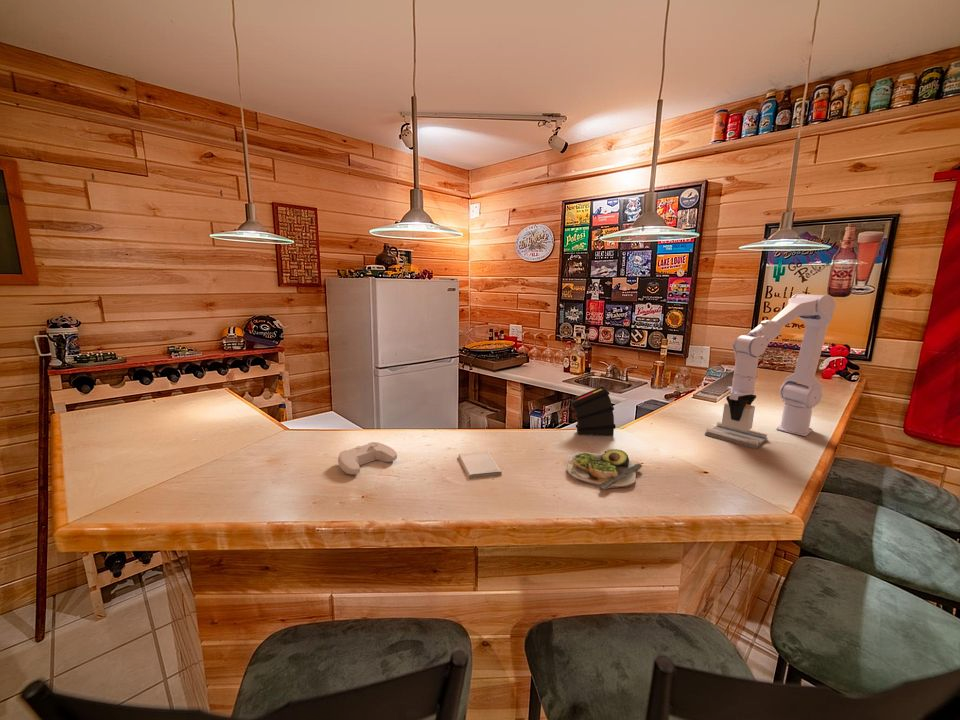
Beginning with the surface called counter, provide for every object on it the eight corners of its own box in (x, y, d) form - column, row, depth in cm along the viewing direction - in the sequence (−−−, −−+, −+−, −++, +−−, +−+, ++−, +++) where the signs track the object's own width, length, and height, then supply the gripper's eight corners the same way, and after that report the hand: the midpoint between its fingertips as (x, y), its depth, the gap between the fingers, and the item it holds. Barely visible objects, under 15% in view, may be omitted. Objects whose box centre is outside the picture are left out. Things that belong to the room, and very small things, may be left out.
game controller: (350, 469, 99) (330, 448, 105) (349, 484, 100) (329, 463, 106) (401, 451, 109) (380, 433, 115) (400, 466, 110) (379, 447, 116)
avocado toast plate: (639, 502, 92) (641, 483, 92) (558, 486, 99) (559, 468, 98) (641, 466, 110) (643, 450, 109) (573, 455, 117) (574, 439, 116)
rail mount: (718, 427, 140) (719, 421, 139) (767, 439, 129) (768, 433, 129) (704, 434, 133) (705, 428, 132) (755, 448, 122) (756, 442, 122)
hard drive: (501, 471, 103) (487, 450, 115) (469, 474, 101) (458, 453, 113) (501, 477, 103) (487, 456, 115) (469, 481, 101) (458, 459, 113)
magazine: (625, 431, 129) (607, 388, 127) (584, 448, 131) (566, 405, 128) (621, 427, 133) (604, 385, 130) (582, 443, 134) (564, 401, 132)
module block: (726, 422, 134) (730, 400, 133) (751, 428, 129) (755, 405, 128) (721, 425, 131) (724, 402, 130) (746, 431, 126) (750, 408, 125)
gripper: (738, 369, 135) (732, 410, 137) (721, 376, 125) (715, 419, 128) (764, 373, 130) (757, 416, 132) (747, 380, 120) (741, 426, 123)
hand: (738, 418), depth 130 cm, fingers closed on module block, 4 cm apart
